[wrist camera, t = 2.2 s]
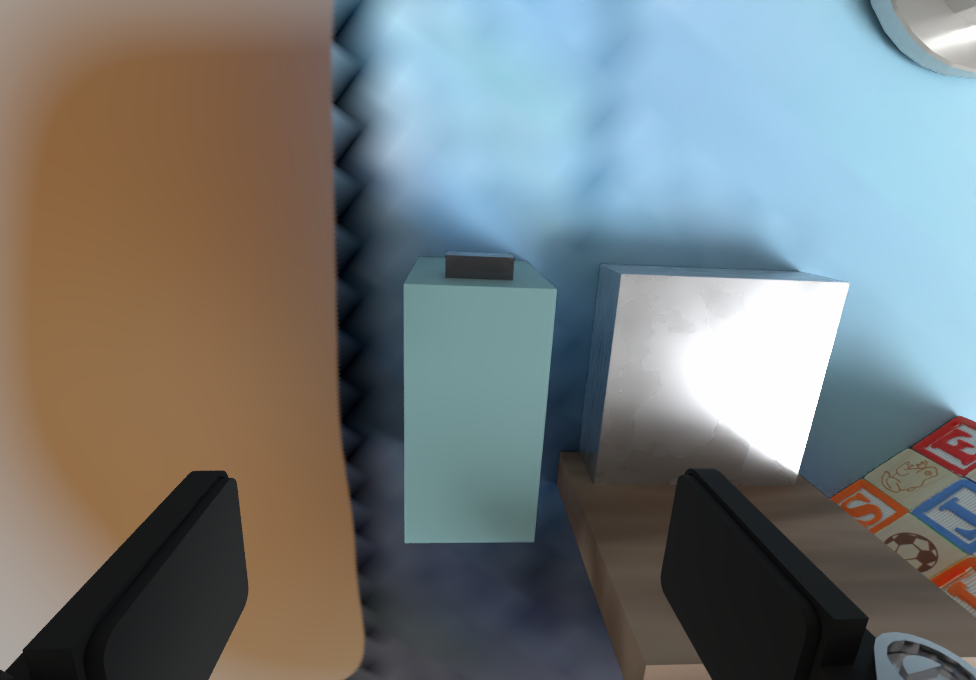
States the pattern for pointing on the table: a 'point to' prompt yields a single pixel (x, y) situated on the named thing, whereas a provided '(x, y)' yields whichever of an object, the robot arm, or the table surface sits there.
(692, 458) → the wooden bookend
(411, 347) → the teal cabinet
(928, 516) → the stack of blocks
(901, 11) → the robot arm
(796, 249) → the table surface
